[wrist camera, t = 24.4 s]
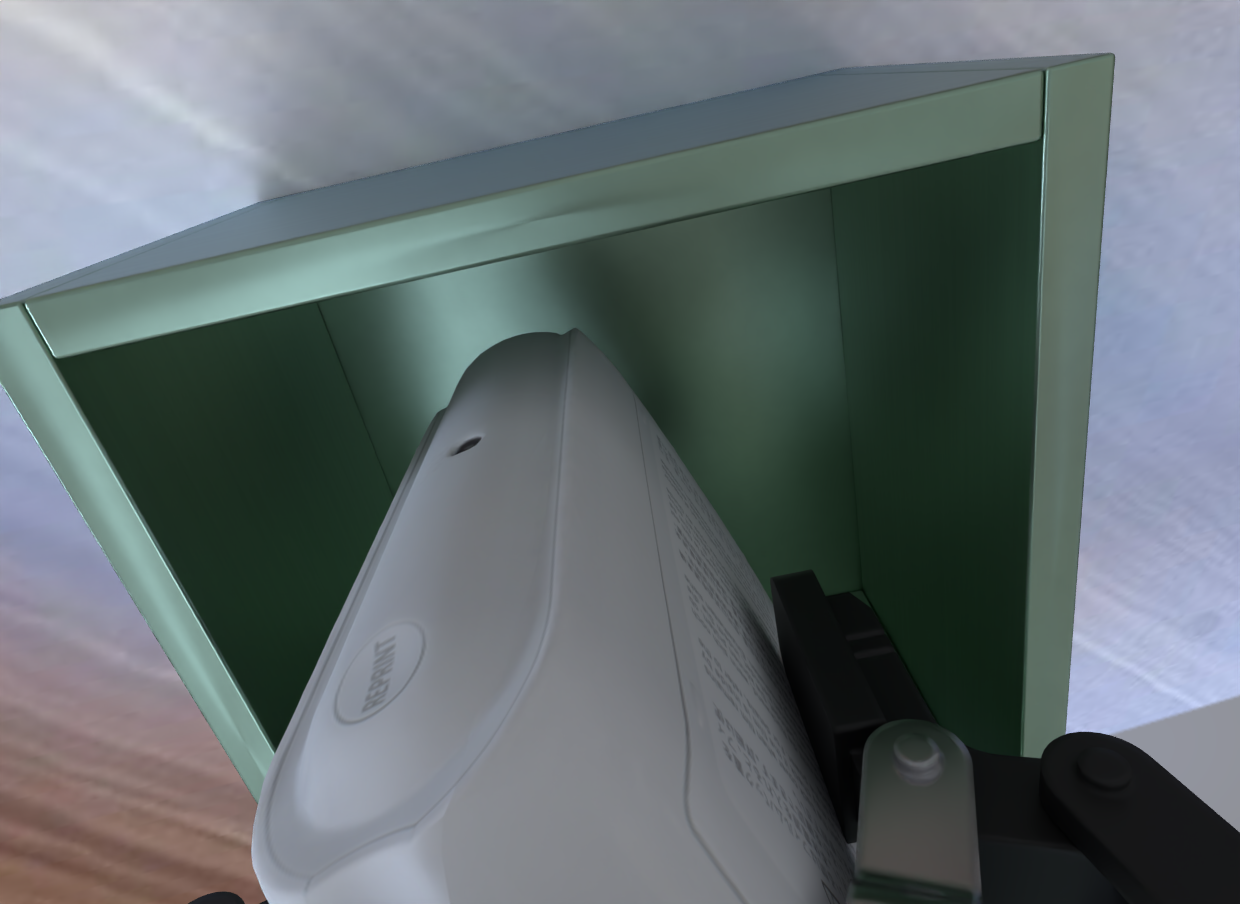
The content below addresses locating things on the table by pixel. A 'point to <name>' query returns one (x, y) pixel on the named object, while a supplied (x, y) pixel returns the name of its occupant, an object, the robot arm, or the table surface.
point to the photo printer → (549, 678)
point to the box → (625, 368)
